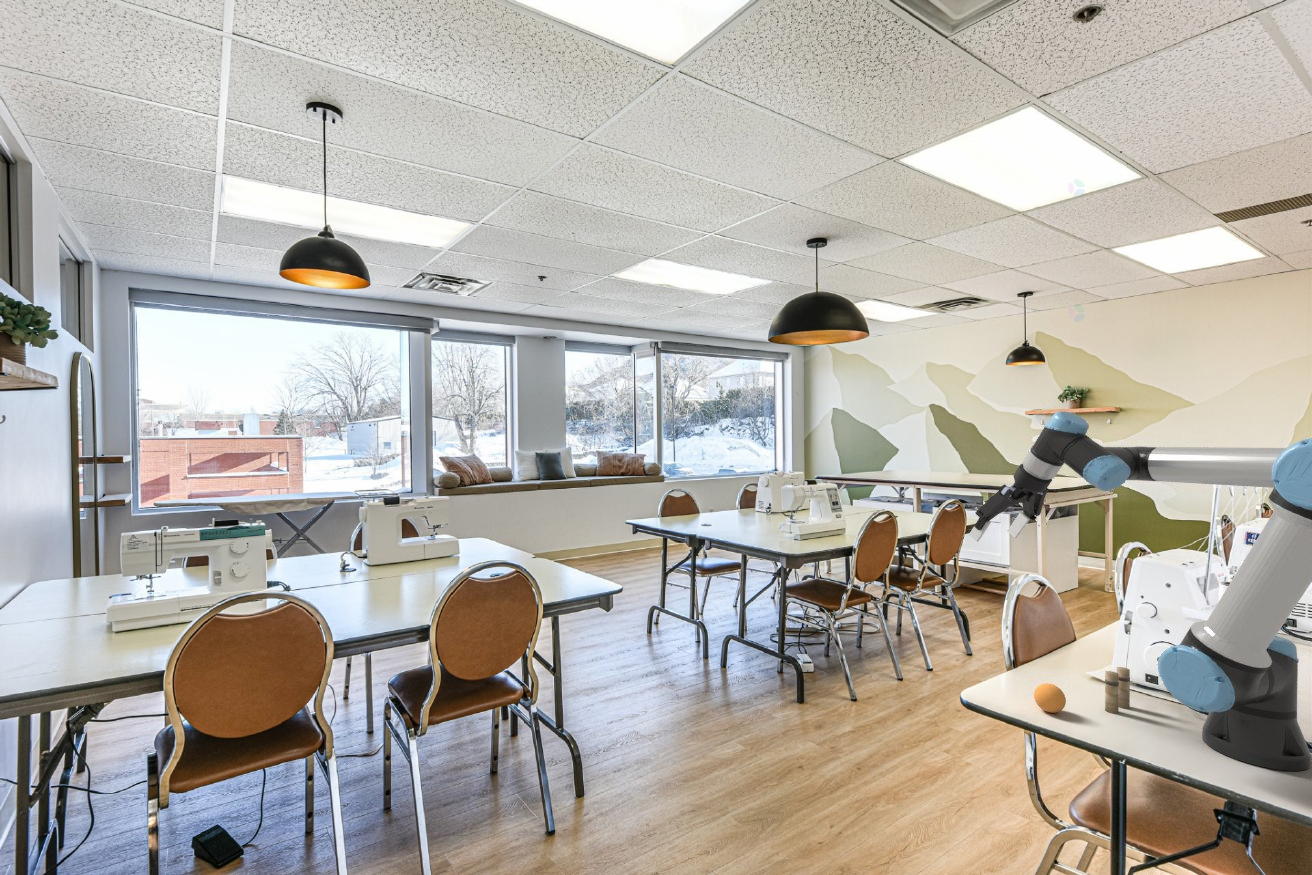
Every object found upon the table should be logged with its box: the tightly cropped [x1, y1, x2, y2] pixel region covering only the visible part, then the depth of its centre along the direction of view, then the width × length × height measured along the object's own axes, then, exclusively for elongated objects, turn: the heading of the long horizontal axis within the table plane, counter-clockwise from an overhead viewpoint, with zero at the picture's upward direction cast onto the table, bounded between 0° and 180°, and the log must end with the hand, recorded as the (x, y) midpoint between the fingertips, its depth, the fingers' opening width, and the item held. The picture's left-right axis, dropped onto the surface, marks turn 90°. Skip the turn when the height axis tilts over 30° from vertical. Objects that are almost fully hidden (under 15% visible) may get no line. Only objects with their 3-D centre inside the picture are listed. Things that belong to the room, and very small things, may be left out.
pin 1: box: [1104, 670, 1120, 715], centre depth 139 cm, size 2×2×8 cm
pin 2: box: [1116, 666, 1131, 710], centre depth 141 cm, size 2×2×8 cm
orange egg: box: [1033, 682, 1067, 714], centre depth 138 cm, size 6×6×6 cm
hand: (993, 536), depth 161 cm, fingers open, 13 cm apart
